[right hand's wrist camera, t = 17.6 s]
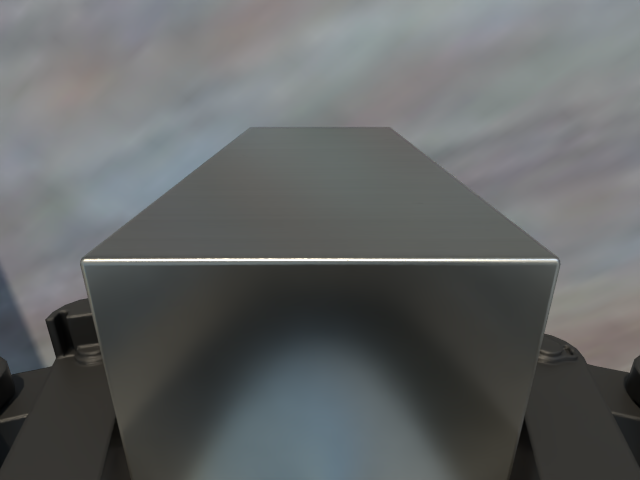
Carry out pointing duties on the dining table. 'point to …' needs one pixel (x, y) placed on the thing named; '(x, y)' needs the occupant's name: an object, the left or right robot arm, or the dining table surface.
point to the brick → (320, 317)
